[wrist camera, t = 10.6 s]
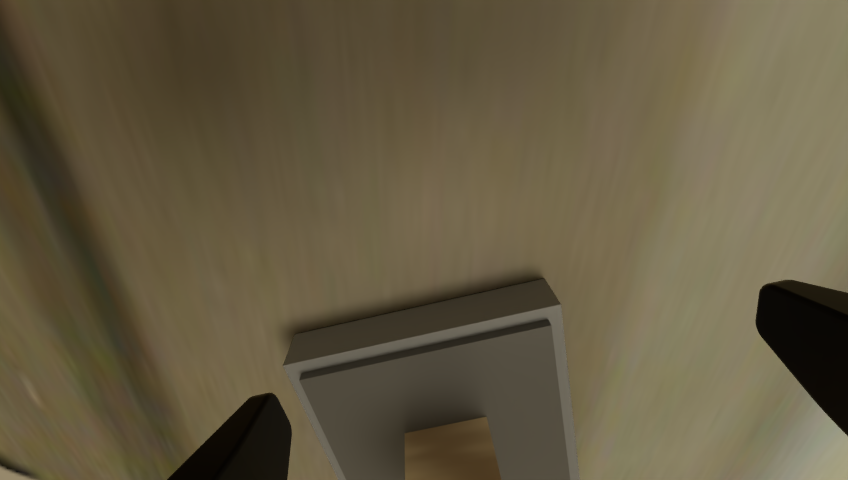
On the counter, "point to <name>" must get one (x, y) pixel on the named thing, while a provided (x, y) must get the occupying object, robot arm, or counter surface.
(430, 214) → the counter surface
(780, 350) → the robot arm
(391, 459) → the plate
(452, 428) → the oak block
